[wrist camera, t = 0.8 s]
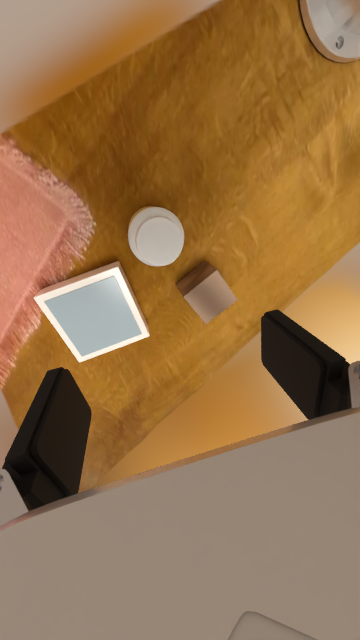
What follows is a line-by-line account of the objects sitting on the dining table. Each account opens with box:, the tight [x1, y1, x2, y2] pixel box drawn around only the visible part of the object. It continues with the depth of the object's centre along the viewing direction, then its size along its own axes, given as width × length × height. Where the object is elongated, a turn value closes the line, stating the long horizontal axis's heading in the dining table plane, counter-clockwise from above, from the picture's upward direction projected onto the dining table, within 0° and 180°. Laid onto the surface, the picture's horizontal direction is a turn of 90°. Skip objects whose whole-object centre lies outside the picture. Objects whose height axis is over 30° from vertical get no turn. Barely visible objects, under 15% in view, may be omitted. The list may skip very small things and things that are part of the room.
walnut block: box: [176, 260, 237, 324], centre depth 30 cm, size 5×5×5 cm
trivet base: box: [34, 261, 150, 363], centre depth 29 cm, size 10×10×3 cm
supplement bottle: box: [128, 206, 184, 266], centre depth 23 cm, size 5×5×10 cm
